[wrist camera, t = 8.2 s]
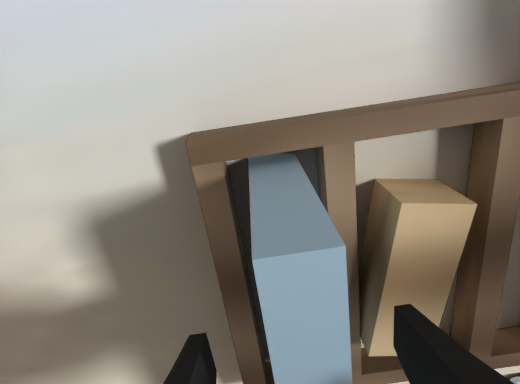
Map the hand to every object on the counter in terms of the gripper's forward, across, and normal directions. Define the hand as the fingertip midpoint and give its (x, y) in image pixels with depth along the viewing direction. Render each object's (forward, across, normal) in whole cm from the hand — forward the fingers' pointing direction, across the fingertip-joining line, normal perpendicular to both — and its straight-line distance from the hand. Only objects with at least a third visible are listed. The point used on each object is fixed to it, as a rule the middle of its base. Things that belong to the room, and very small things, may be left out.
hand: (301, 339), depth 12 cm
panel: (+5, 0, 0) cm, 5 cm away
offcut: (+5, -5, 0) cm, 7 cm away
